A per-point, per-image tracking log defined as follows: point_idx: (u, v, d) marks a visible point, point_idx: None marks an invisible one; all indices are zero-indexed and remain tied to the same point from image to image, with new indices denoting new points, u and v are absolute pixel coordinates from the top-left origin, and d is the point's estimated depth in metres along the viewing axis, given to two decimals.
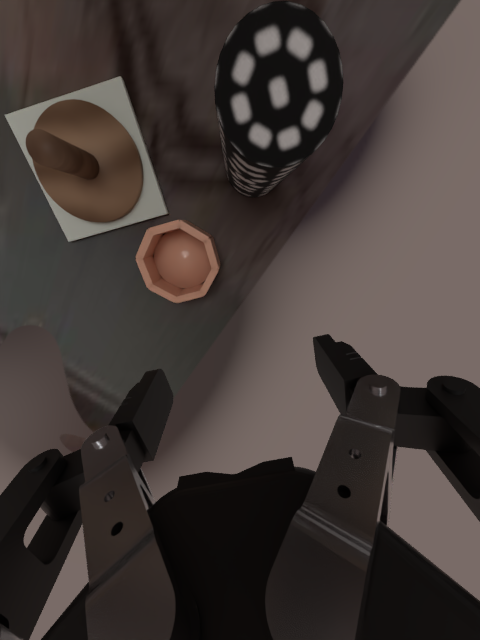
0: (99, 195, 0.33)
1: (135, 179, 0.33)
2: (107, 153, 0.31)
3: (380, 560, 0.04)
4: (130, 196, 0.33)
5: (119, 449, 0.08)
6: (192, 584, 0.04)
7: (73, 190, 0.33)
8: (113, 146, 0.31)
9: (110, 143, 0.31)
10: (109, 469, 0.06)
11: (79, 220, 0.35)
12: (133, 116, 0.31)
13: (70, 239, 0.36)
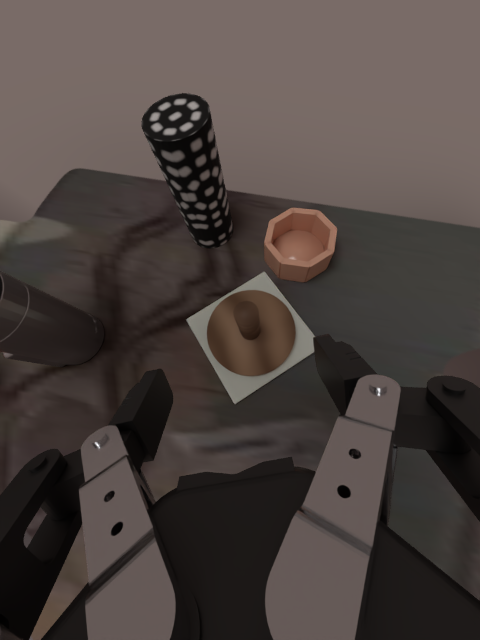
0: (269, 318, 0.38)
1: (247, 293, 0.40)
2: None
3: (380, 560, 0.04)
4: (261, 294, 0.39)
5: (119, 449, 0.08)
6: (192, 584, 0.04)
7: (273, 339, 0.37)
8: (230, 312, 0.39)
9: (228, 314, 0.39)
10: (109, 469, 0.06)
11: (298, 338, 0.37)
12: (206, 307, 0.41)
13: None
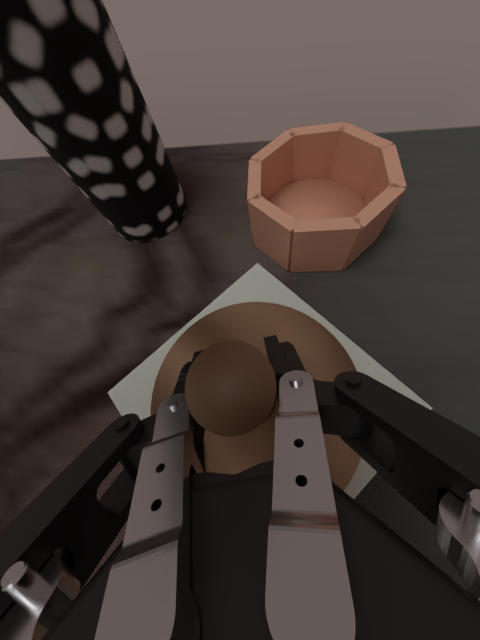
0: None
1: (231, 312, 0.18)
2: None
3: (343, 527, 0.05)
4: (261, 310, 0.18)
5: None
6: (203, 605, 0.04)
7: None
8: None
9: None
10: (168, 440, 0.07)
11: None
12: (150, 357, 0.19)
13: (423, 405, 0.15)
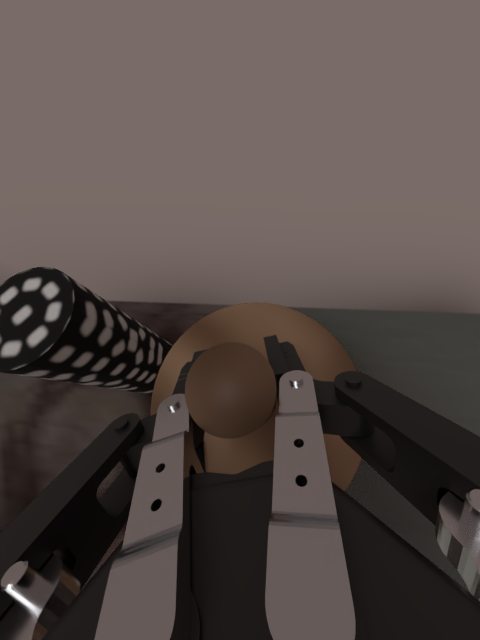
0: None
1: (231, 313, 0.18)
2: None
3: (343, 527, 0.05)
4: (261, 311, 0.18)
5: None
6: (203, 606, 0.04)
7: None
8: None
9: None
10: (168, 440, 0.07)
11: None
12: None
13: None
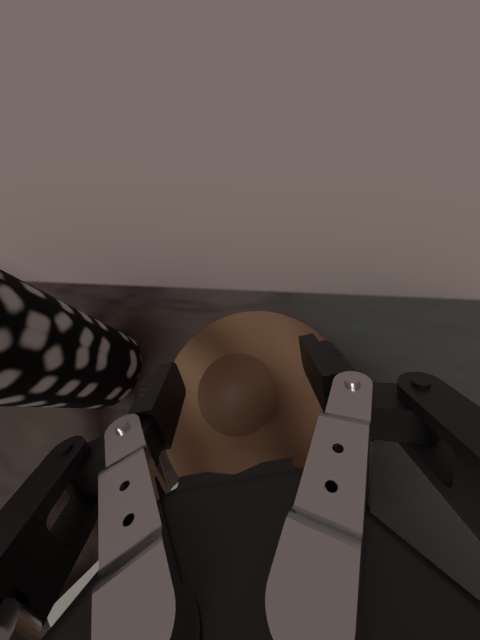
0: (290, 366, 0.17)
1: (234, 321, 0.19)
2: None
3: (370, 548, 0.04)
4: (262, 319, 0.19)
5: (142, 435, 0.08)
6: (196, 589, 0.04)
7: (309, 415, 0.16)
8: (204, 367, 0.18)
9: (201, 372, 0.18)
10: (127, 458, 0.07)
11: None
12: (89, 571, 0.19)
13: None
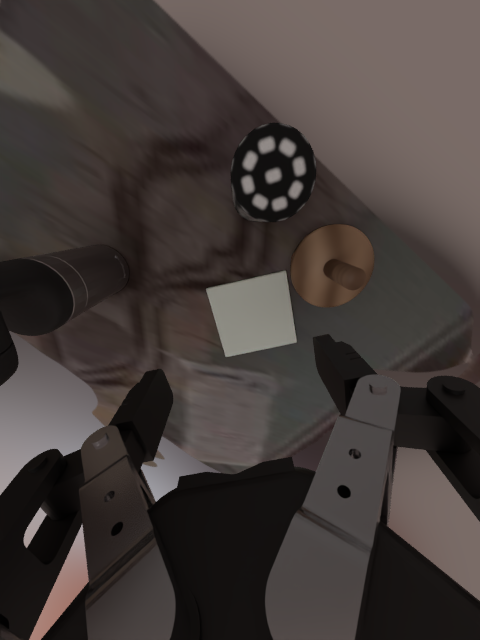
0: (354, 263, 0.40)
1: (349, 230, 0.38)
2: (327, 250, 0.39)
3: (380, 560, 0.04)
4: (360, 237, 0.39)
5: (119, 449, 0.08)
6: (192, 584, 0.04)
7: None
8: (323, 244, 0.39)
9: (321, 245, 0.39)
10: (109, 469, 0.06)
11: (284, 332, 0.51)
12: (226, 285, 0.47)
13: (295, 340, 0.52)
